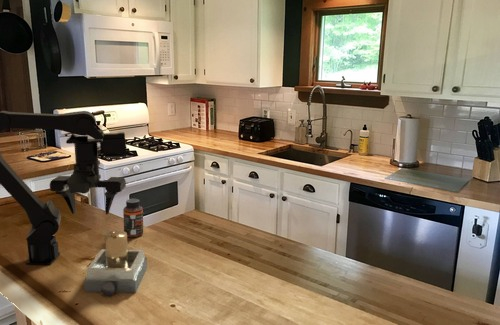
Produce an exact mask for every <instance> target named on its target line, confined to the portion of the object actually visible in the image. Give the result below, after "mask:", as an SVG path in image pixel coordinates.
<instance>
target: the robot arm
mask: <svg viewBox="0 0 500 325" xmlns="http://www.w3.org/2000/svg"><path fill="white" fill-rule="evenodd" d="M6 129H28V130H30V129H31V130H56V131H61V132H62V131H63V132H65V133H69V134H71V135H70V136H69V137H68V138H67V139H66V141H65V143H66V144H67V145H68V144H73V145H74V146H73V147H74V157H75V158H74V159H75V164H73V171H72V174H71V175H58V176H56V177H55V178H53V179H51V180H50V182H49V191H50V192H54V193H55V194H56V195H60V196H61V197H62V198H63V200H64V201H65V203H66V204H67V206H68V208H69V210H70V213H71V214H72V215H74V214H75V213H76V194H87V193H89V192H90V189H91V188H96V189H97V188H101V189H102V188H105V193H104V196H105V197H104V198H105V210H104V211H105V215H108V214H109V213H110V210H111V207H112V204H113V202H114V199H115V197H116V195H117V194H118V193H121V192H122V191H123V190H124V189H125V188H126V187H127V184H126V183H127V182H126V178H124V177H123V176H110V177H109V178H108V179H107V180H101V178H102V176H101V174H100V167H99V166H100V164H101V160H99V150H100V155H102V156H103V157H104V158H105V159H111V158H114V159H115V158H127V155H128V154H127V153H128V151H127V148H128V147H127V143H126V134H125V132H122V131H120V132H113V133H112V132H111V133H109V132H108V133H105V132H104V131H103V129H102V128H101V127H100V126H99V125H98V124H97V119H96V117H95V115H94V114H93V113H92V112H90V111H88V110H80V111H71V112H66V113H41V112H39V113H38V112H37V113H36V112H18V111H17V112H15V111H7V110H1V111H0V134H2V132H4V131H5V130H6ZM88 136H89V137H88ZM90 137H91V138H90ZM98 143H99V146H100V147H99V150H98ZM0 185H1V186H2V188H3V189H5V190H6V192H7V193H9V195H10V196H11V197H12V199H14V200H15V201H16V203H17V204H18V205H19V206H20V207H21V208H22V209H23V210H24V211H25V213H26V215H27V218H28V220H29V223H30V224H31V227H30V229H29V232H28V234H27V237H26V243H27V253H28V259H27V260H26V262H25V264H26V265H38V266H39V265H41V266H42V265H45V266H46V265H48V266H49V265H51V264H52V263H53V262H54V261H55V260H56V259H57V258H58V257H60V255H61V252H60V250H59V243H58V242H59V241H57V238H56V235H55V234H57V233H58V230H59V228H60V223H61V220H62V215H61V214H60V213H61V210H60V209H59V208H57V207H56V206H55V204H54V203H53V201H52V199H49V200H48V201H47V202H45V201H43V200H41V199H40V198H39V197H38V196H37V195H36V194H35V193H34V191H33V190H32V189H31V188H30V187H29V186H28V184H27V183H26V182H25V181H24V180H23V179H22V178H21V176H20V175H19V174H17V172H16V171H15V170H14V169H13V168H12V167H11V166H10V164H8V162H7V161H6V160H5V159H4V158H3V155H2V153H1V152H0Z"/></svg>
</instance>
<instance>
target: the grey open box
mask: <svg viewBox="0 0 500 325" xmlns="http://www.w3.org/2000/svg"><path fill="white" fill-rule="evenodd" d="M147 259H148V258H147V257H145V249H128V268H106V253H105V249H103V248H102V249H101V250H100V251H99V252H98V253H97V255H96V256H95V258H94V259H93V260H92V262H90V264H89V265H88V267H87V268H86V270H85V271H86V274H85V275H86V276H85V278H84V279H83V287H84V293H101V294H102V295H103V296H104V297H112V296H113V295H114V293H130V294H131V293H133V294H135V293H137V291H138V289H139V286H140V285H141V282H142V280H143V278H144V276H145V274H146V272H147V269H148V260H147Z"/></svg>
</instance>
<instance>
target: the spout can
mask: <svg viewBox="0 0 500 325" xmlns="http://www.w3.org/2000/svg"><path fill="white" fill-rule="evenodd" d="M104 248H105V253H106V268H128V250H129V249H128V237H127V233H126V232H124V230H112V231H109V232H107V233H105V234H104Z"/></svg>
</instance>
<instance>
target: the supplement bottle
mask: <svg viewBox="0 0 500 325" xmlns="http://www.w3.org/2000/svg"><path fill="white" fill-rule="evenodd" d="M125 202H126V203H125V205H126V206H125V207H124V208H123V210H122V213H123V231H124V232H126V233H127V238H138V237H140V236H142V235H143V234H144V210H143V206H141V205H140V203H141V202H140V199H138V198H129V199H127V200H126V201H125Z"/></svg>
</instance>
